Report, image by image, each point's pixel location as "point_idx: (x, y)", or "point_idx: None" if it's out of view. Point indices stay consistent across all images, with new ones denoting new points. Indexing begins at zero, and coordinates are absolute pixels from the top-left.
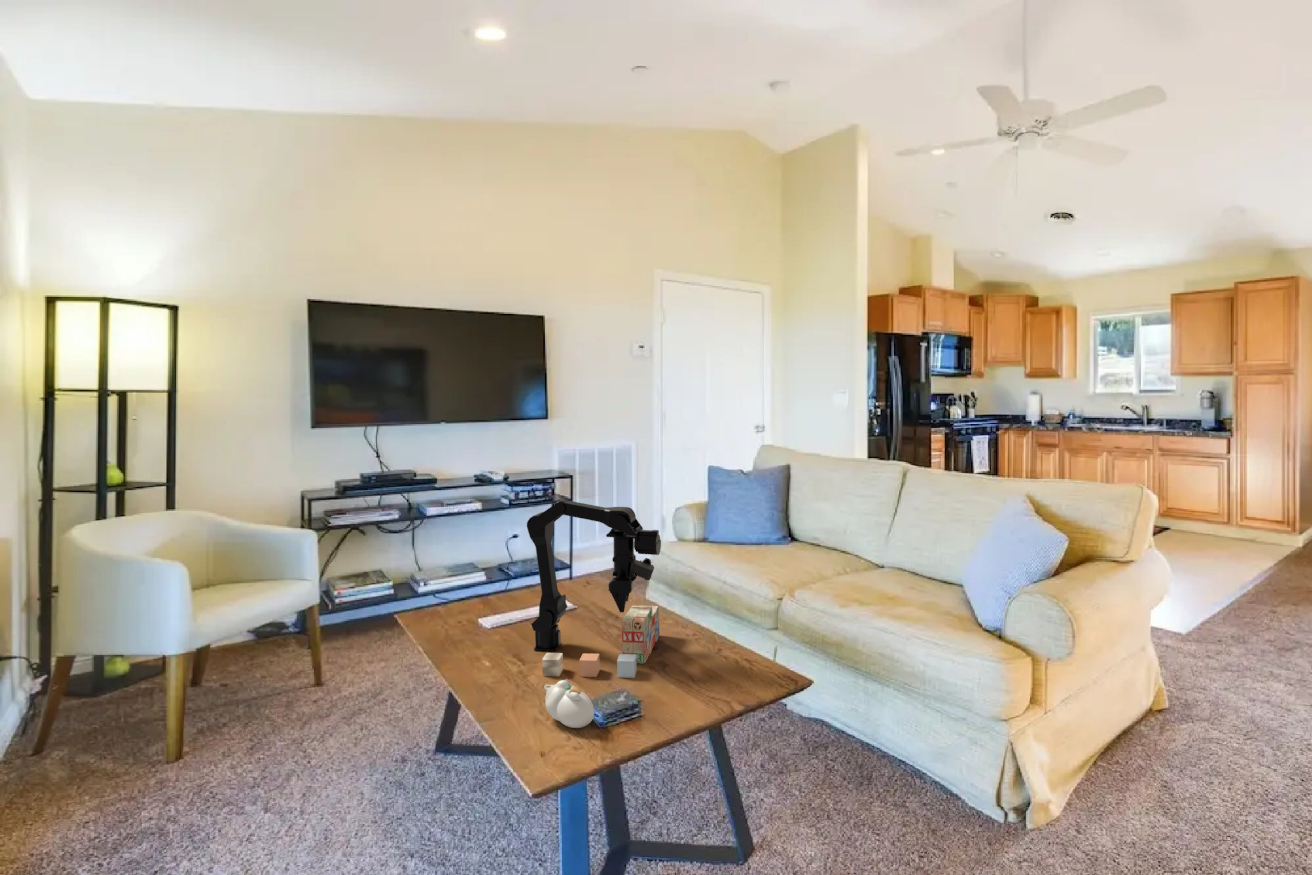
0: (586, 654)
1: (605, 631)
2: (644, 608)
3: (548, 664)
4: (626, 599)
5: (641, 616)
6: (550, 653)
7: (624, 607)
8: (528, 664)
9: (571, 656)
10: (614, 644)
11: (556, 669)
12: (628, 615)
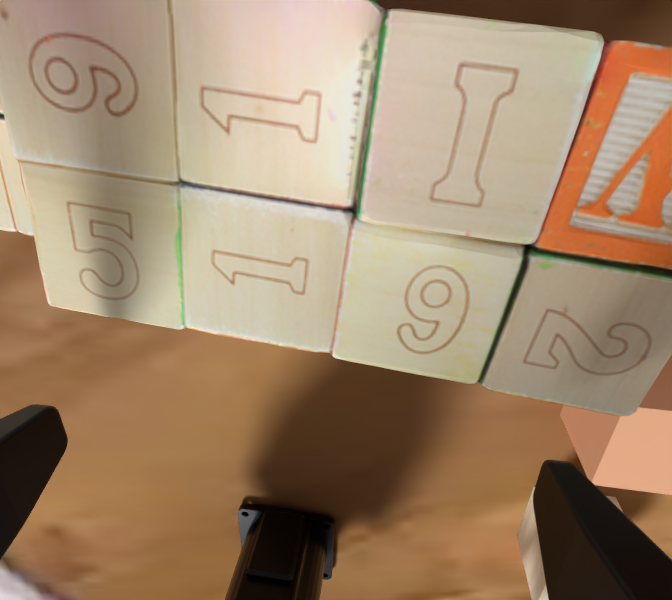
0: (613, 467)
1: (63, 339)
2: (117, 108)
3: None
4: (38, 437)
5: (557, 137)
6: (547, 597)
7: (643, 535)
8: (461, 582)
9: (392, 462)
10: None
11: None
12: (451, 343)
